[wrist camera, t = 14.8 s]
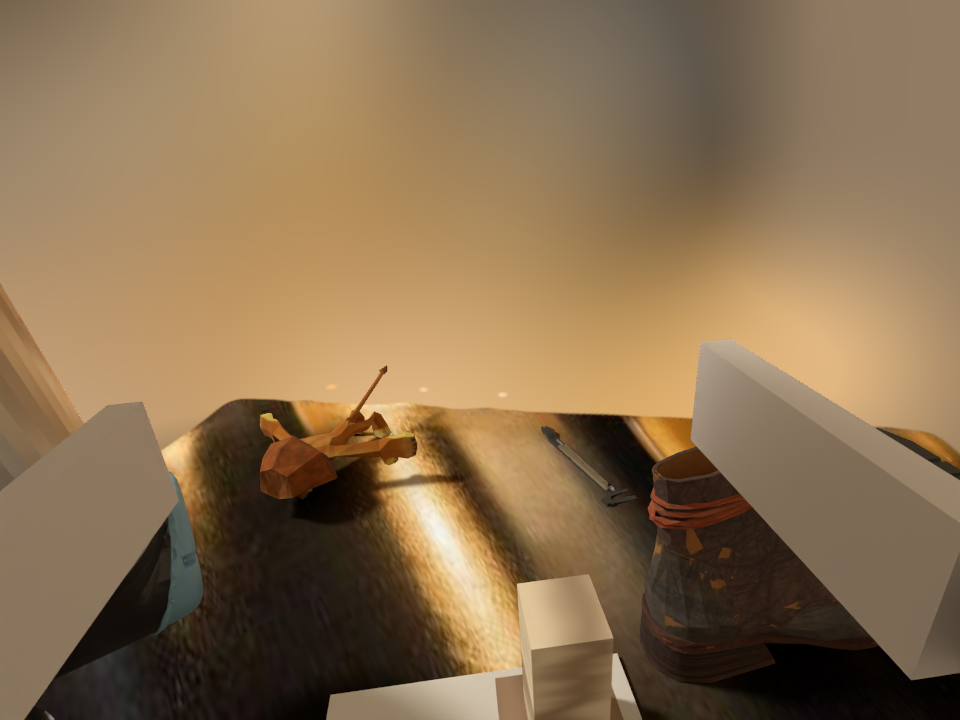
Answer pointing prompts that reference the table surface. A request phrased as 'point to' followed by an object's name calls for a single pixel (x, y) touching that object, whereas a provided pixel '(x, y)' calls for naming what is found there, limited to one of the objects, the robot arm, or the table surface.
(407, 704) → the white flat panel
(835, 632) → the ankle boot
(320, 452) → the toy
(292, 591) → the table surface
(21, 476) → the robot arm
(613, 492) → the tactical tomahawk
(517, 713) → the plinth
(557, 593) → the column
